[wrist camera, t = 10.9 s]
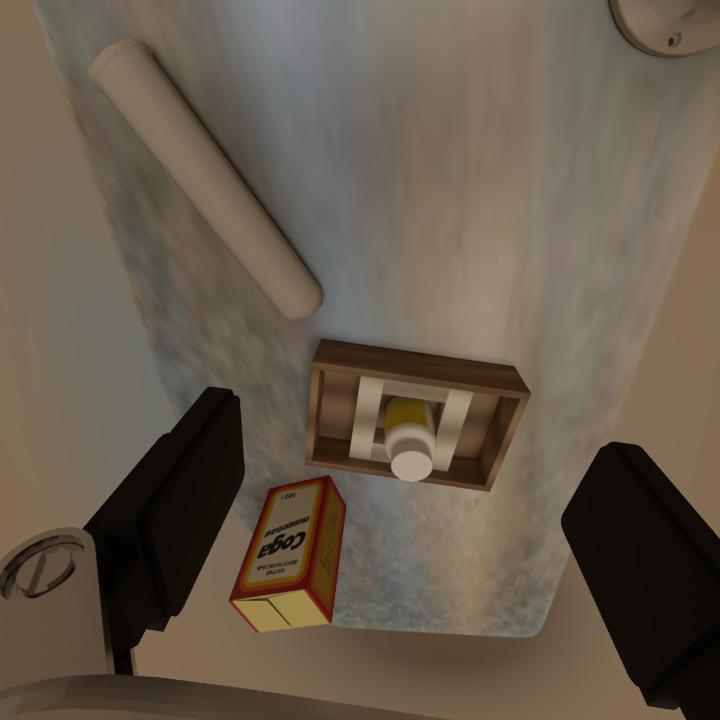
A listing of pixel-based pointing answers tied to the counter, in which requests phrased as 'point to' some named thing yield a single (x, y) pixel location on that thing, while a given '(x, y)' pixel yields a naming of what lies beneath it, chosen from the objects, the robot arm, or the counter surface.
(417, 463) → the supplement bottle
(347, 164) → the counter surface
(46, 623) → the robot arm
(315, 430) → the crate
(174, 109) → the tube
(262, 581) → the baking soda box
